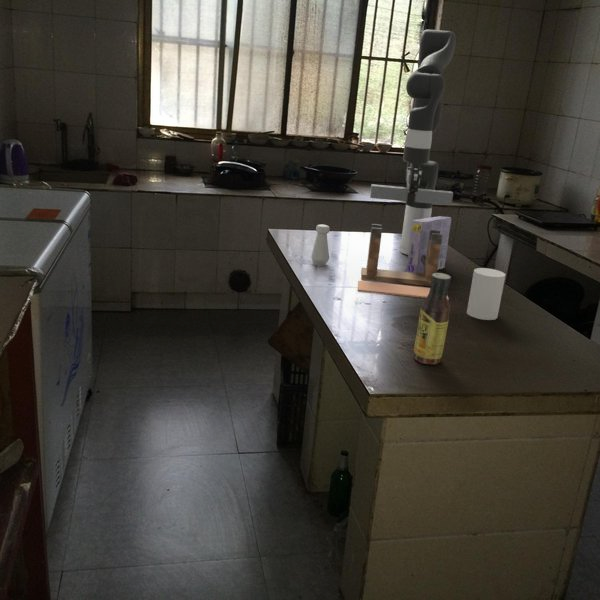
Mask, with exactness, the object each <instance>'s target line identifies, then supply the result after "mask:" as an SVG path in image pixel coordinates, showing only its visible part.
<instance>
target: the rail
mask: <svg viewBox="0 0 600 600" xmlns="http://www.w3.org/2000/svg"><path fill="white" fill-rule="evenodd" d="M370 185H371V186H370V194H369V195H370V197H369V198H370V199H379V200H389V201H400V202H406V201H407V198H408V187H407V186H406V187H405V186H397V185H394V186H393V185H383V184H376V183H375V184H373V183H371V184H370ZM453 197H454V192H453V191H450V190H440V189H439V190H438V189H435V190H430V189H426V188H420V187H418V191H417V193H416V196H415V202H420V203H431V204H433V205H444V206H452V204H453Z"/></svg>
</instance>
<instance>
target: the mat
mask: <svg viewBox="0 0 600 600" xmlns="http://www.w3.org/2000/svg"><path fill="white" fill-rule="evenodd" d="M357 291H358V292H361V291H364V292H365V293H371V292H373V293H374V294H380V295H381V294H384V295H392V296H403V297H412V298H420V297H421V299H426V298H427V296H428V294H429V291H430V287H427V286H426V287H424V286H417V285H407V284H405V285H404V284H398V283H396V284H395V283H388V282H378V281H368V280H366V281H365V280H357ZM364 292H363V293H364ZM373 293H372V294H373ZM447 300H448V301H449V300H450V298H449V296H448V295H447Z"/></svg>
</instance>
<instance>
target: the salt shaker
mask: <svg viewBox="0 0 600 600" xmlns="http://www.w3.org/2000/svg"><path fill="white" fill-rule="evenodd" d="M330 230H331V229H330V226H329V225H327V224H317V225H316V228H315V232H316V237H315V240H314V245H313V248H312V252H311V256H310V257H311V261H312V264H313V265H314V266H318V267H324V266H325V267H326V265H327V263H328V262H329V260H330V253H329V250H330V249H329V243H328V242H329V241H328V234H329V233H330Z"/></svg>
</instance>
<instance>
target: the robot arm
mask: <svg viewBox="0 0 600 600" xmlns="http://www.w3.org/2000/svg"><path fill="white" fill-rule="evenodd" d="M456 40H457V37H456V34H455V33H454V32H453V31H450V30H442V29H440V30H437V29H425V30H423V31H422V33H421V36H420V40H419V51H418V66H417V69H416V70H414V71H413V72H412V73H411V74H410V75H409V77H408V79H407V81H406V88H405V90H406V93H407V95H408V96H409V97H410V98H411V99H414V103H413V108H411V109H410V110H409V111H410V112H409V115H408V125H407V129H406V131H407V132H406V135H405V140H404V141H405V142H404V147H403V157H402V161H403V162H406V164H407V165H406V169H405V171H406V172H405V183H406V187H408V198H407V201H405V210H404V219H403V224H402V232H401V239H400V240H401V241H400V247H399V249H400V250H399V252H400V253H401V254H404V255H406V256H407V255H408V253H409V245H410V236H411V228H412V220H418V219H424V218H431V217H432V211H433V210H432V209H433V205H434V204H431V203H420V202H415V196H416V193H417V191H418V188H424V189H430V190H436V185H437V180H438V175H439V163H438V162H437V161H434V160H430V155H431V148H432V147H431V146H432V140H433V134H434V133H435V132H436V131H437V129H438V127H439V126H440V124H441V121H442V120H441V118H442V111H443V100H442V96H443V94H444V90H445V88H446V81H445V78H444V77H443V74H444V70H445V68H447V66H448V65H449V64H450V62H451V61H452V60H453V57H454V56H455V55H454V54H455V50H456V43H457V41H456Z"/></svg>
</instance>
